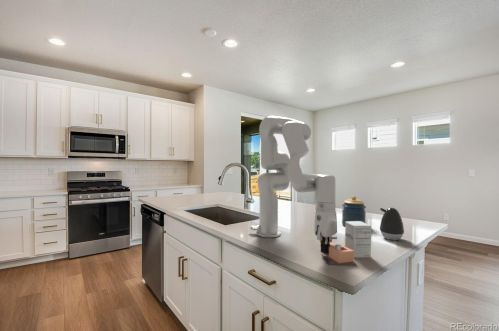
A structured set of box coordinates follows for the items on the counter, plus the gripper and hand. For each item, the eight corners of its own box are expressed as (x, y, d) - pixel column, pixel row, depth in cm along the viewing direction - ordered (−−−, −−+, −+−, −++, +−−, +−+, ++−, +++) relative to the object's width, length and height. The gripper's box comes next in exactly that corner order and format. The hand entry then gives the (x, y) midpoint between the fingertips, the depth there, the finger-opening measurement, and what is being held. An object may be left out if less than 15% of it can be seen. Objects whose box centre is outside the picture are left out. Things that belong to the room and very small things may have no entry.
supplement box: (344, 251, 103) (344, 221, 102) (361, 250, 103) (361, 220, 103) (353, 258, 95) (353, 225, 95) (371, 257, 96) (371, 225, 96)
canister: (369, 228, 138) (370, 197, 138) (346, 228, 138) (347, 197, 138) (359, 223, 151) (360, 194, 151) (338, 223, 151) (339, 194, 151)
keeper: (323, 250, 103) (323, 236, 102) (319, 246, 109) (320, 232, 109) (336, 251, 102) (337, 236, 102) (332, 246, 108) (332, 232, 108)
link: (353, 261, 91) (353, 250, 91) (339, 263, 89) (339, 252, 89) (330, 248, 105) (330, 239, 105) (317, 250, 103) (317, 240, 103)
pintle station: (328, 264, 89) (328, 249, 89) (321, 254, 99) (321, 240, 99) (356, 265, 88) (356, 250, 88) (346, 254, 98) (346, 241, 98)
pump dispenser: (383, 234, 128) (383, 205, 127) (406, 238, 120) (406, 207, 120) (376, 238, 120) (376, 207, 120) (400, 243, 113) (400, 210, 113)
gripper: (324, 209, 89) (324, 260, 89) (343, 205, 99) (343, 250, 99) (306, 207, 94) (306, 255, 94) (326, 203, 104) (326, 246, 104)
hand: (325, 252), depth 96 cm, fingers closed
